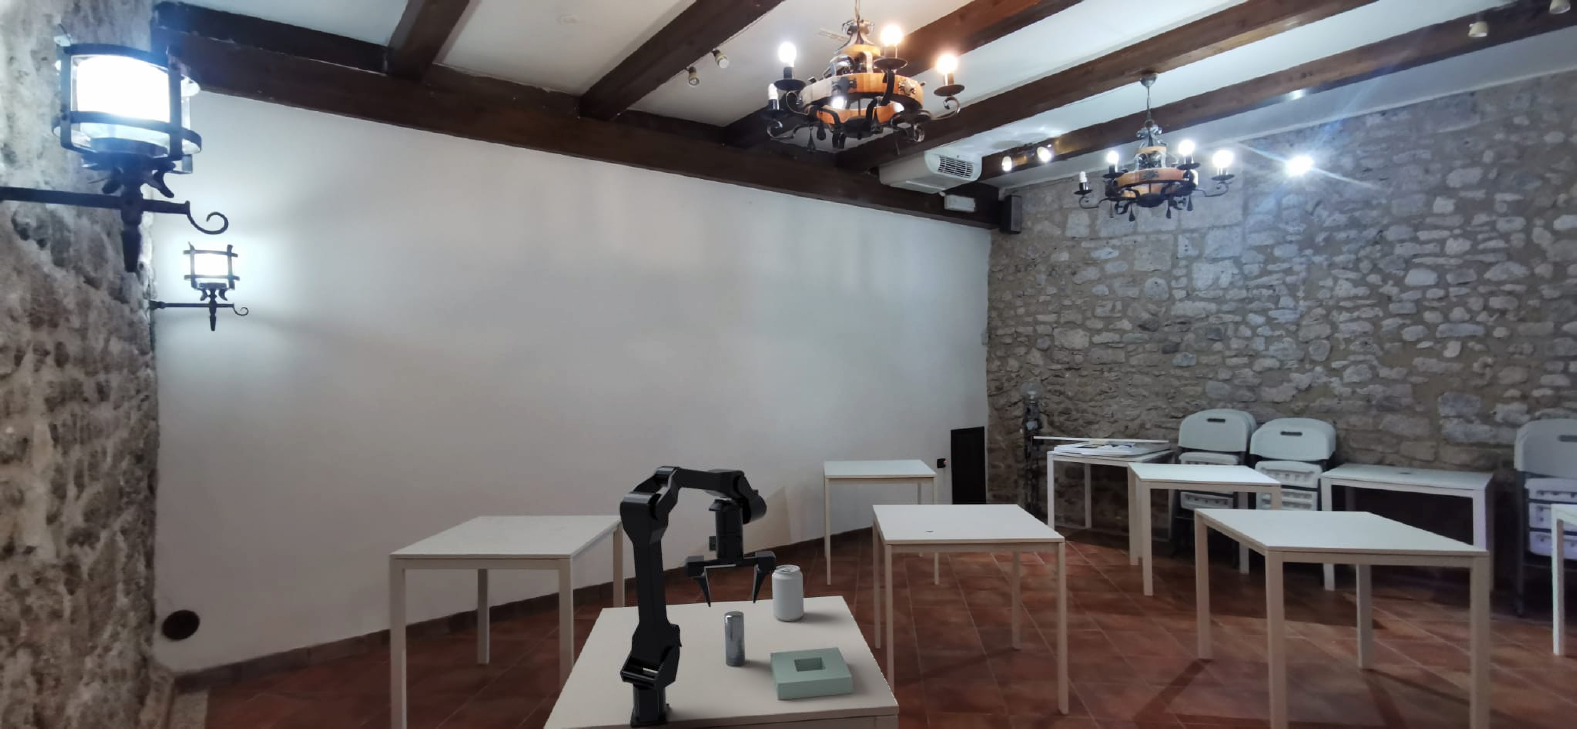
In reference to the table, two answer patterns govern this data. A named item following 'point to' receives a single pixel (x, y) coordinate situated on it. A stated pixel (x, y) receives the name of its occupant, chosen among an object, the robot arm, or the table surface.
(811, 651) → the socket block
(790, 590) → the can
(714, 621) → the table surface
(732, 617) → the peg
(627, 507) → the robot arm
